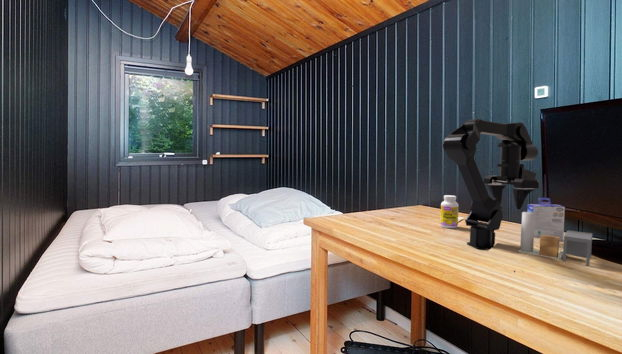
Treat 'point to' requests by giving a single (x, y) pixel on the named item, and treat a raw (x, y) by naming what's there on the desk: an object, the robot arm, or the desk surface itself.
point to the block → (549, 246)
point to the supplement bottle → (449, 212)
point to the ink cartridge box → (548, 219)
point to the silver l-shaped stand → (530, 235)
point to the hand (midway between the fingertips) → (508, 207)
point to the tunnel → (577, 245)
